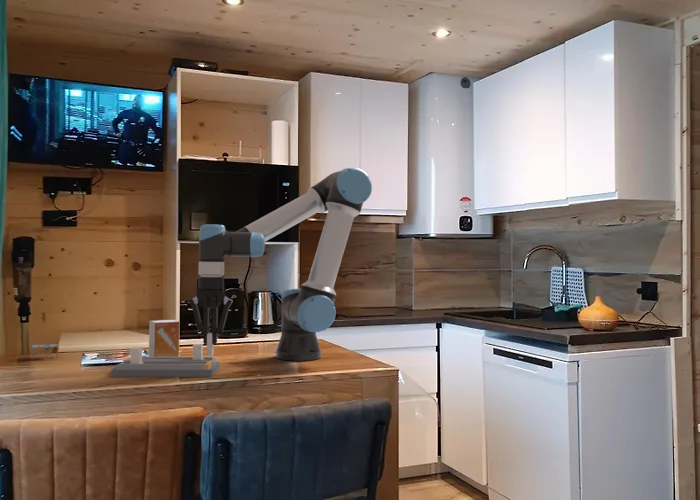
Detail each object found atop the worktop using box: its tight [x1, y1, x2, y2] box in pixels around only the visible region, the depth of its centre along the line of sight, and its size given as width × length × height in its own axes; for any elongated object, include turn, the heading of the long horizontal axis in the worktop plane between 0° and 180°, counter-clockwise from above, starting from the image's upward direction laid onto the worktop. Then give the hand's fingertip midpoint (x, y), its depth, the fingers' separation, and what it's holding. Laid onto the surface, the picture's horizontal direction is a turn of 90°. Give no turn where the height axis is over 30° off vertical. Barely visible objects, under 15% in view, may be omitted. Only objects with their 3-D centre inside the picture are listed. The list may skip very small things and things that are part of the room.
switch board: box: [110, 356, 221, 378], centre depth 182 cm, size 28×13×4 cm, turn 92°
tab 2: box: [192, 343, 204, 360], centre depth 185 cm, size 3×3×5 cm
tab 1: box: [130, 346, 143, 364], centre depth 178 cm, size 3×3×5 cm
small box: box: [148, 319, 180, 357], centre depth 200 cm, size 8×6×13 cm
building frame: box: [31, 339, 59, 361], centre depth 203 cm, size 6×8×6 cm
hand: (210, 355), depth 185 cm, fingers closed
